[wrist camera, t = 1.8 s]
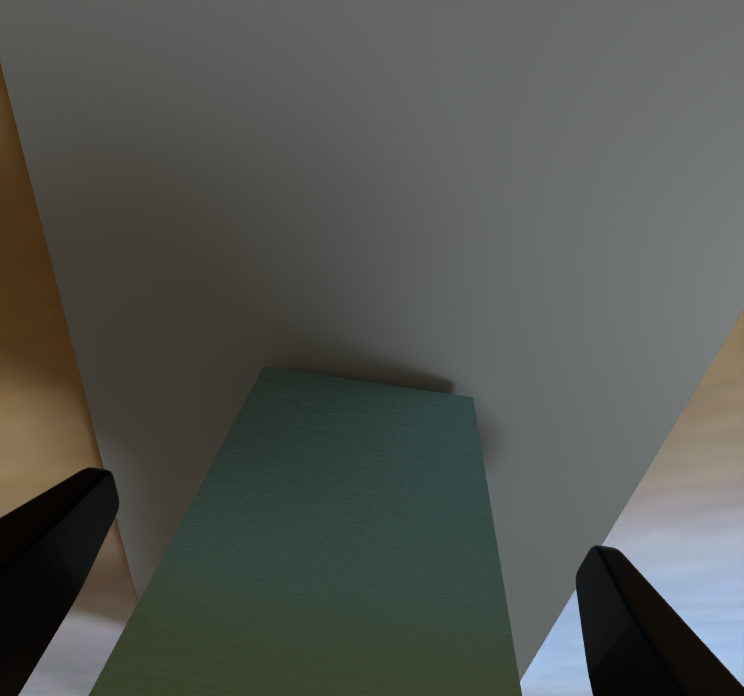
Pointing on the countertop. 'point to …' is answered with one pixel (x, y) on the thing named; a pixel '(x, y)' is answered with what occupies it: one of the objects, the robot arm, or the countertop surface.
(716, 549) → the countertop surface
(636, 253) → the base board
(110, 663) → the green cube on rod
